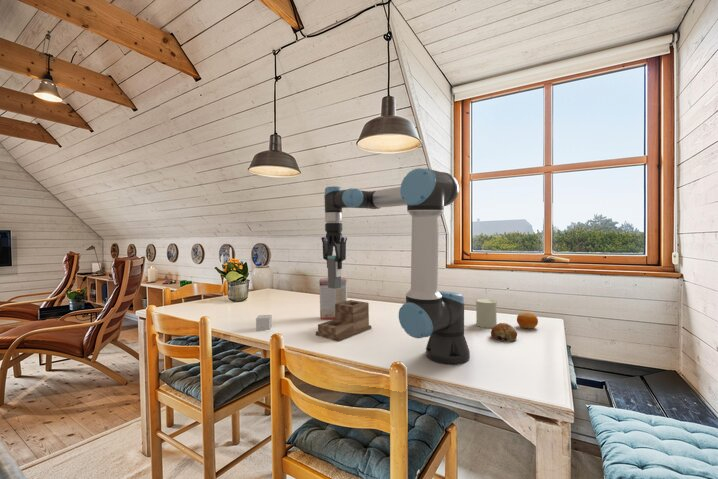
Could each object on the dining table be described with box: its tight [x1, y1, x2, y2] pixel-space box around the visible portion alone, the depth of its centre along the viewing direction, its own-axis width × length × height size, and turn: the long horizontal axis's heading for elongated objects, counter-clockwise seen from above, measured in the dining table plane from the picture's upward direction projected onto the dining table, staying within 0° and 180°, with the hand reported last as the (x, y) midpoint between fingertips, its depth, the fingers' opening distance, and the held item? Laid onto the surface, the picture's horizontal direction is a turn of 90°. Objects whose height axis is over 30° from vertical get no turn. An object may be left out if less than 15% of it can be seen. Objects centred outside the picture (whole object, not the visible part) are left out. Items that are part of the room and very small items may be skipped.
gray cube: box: [255, 314, 273, 332], centre depth 155 cm, size 6×6×6 cm
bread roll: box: [490, 322, 518, 342], centre depth 136 cm, size 10×10×8 cm
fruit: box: [516, 312, 539, 329], centre depth 150 cm, size 8×8×8 cm
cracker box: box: [318, 277, 348, 320], centre depth 172 cm, size 14×6×21 cm, turn 88°
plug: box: [327, 254, 342, 289], centre depth 143 cm, size 4×4×14 cm
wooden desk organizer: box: [315, 299, 373, 342], centre depth 148 cm, size 14×22×12 cm, turn 140°
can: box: [475, 298, 498, 329], centre depth 154 cm, size 9×9×12 cm
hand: (334, 276), depth 143 cm, fingers closed on plug, 4 cm apart
